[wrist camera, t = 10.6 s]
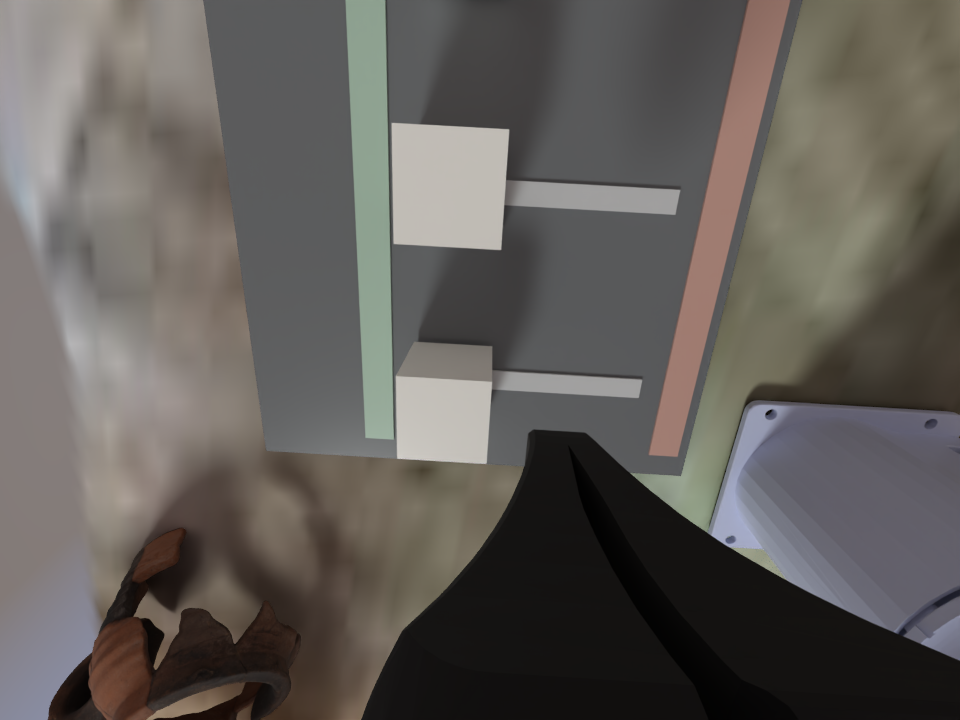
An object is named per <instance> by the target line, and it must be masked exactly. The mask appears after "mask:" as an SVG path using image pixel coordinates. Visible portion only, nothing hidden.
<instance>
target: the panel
mask: <svg viewBox="0 0 960 720" xmlns="http://www.w3.org/2000/svg"><path fill="white" fill-rule="evenodd" d="M203 1H204V8H205V15H206V22H207V29H208V37H209V44H210V51H211V58H212V65H213V72H214V80H215V87H216V94H217V101H218V108H219V116H220V123H221V130H222V137H223V144H224V151H225V159H226V166H227V173H228V180H229V187H230V194H231V202H232V209H233V216H234V223H235V230H236V238H237V245H238V252H239V259H240V266H241V273H242V281H243V288H244V295H245V302H246V309H247V316H248V324H249V331H250V338H251V345H252V352H253V359H254V367H255V374H256V381H257V388H258V395H259V403H260V410H261V417H262V424H263V431H264V438H265V446H266V451H280V452H296V453H313V454H329V455H346V456H362V457H379V458H395V459H397V420H396V375H397V373H398V371H399V369H400V367H401V365H402V363H403V362H404V360H405V358H406V356H407V354H408V352H409V350H410V348H411V346H412V345H413V343H414V342H429V343H446V344H463V345H480V346H492V391H491V406H490V421H489V435H488V450H487V464H494V465H511V466H525V458H526V448H527V438H528V433H529V432H531V431H532V430H533V429H536V430H553V431H569V432H585V433H587V434H588V435H589V436H590V437H591V438H593V439H594V440H595V441H596V442H597V443H598V444H599V445H600V446H601V447H602V448H603V449H604V450H605V451H606V452H608V453H609V454H610V455H611V456H612V457H613V458H614V459H615V460H616V461H617V462H618V463H619V464H620V465H621V466H623V467H624V468H625V469H626V470H627V471H628V472H629V473H643V474H659V475H676V476H681V474H682V470H683V466H684V462H685V458H686V454H687V450H688V446H689V442H690V438H691V434H692V430H693V427H694V423H695V419H696V415H697V411H698V407H699V403H700V399H701V395H702V391H703V387H704V383H705V380H706V376H707V372H708V368H709V364H710V360H711V356H712V352H713V348H714V344H715V340H716V336H717V333H718V329H719V325H720V321H721V317H722V313H723V309H724V305H725V301H726V297H727V293H728V289H729V286H730V282H731V278H732V274H733V270H734V266H735V262H736V258H737V254H738V250H739V246H740V242H741V238H742V235H743V231H744V227H745V223H746V219H747V215H748V211H749V207H750V203H751V199H752V195H753V191H754V188H755V184H756V180H757V176H758V172H759V168H760V164H761V160H762V156H763V152H764V148H765V144H766V141H767V137H768V133H769V129H770V125H771V121H772V117H773V113H774V109H775V105H776V101H777V97H778V94H779V90H780V86H781V82H782V78H783V74H784V70H785V66H786V62H787V58H788V54H789V50H790V47H791V43H792V39H793V35H794V31H795V27H796V23H797V19H798V15H799V11H800V7H801V3H802V0H203ZM392 123H403V124H421V125H439V126H458V127H476V128H494V129H509V141H508V156H507V170H506V185H505V200H504V215H503V229H502V244H501V250H490V249H473V248H455V247H438V246H420V245H403V244H394V242H393V182H392ZM412 460H413V459H412ZM428 461H429V460H428ZM445 462H446V461H445ZM461 463H462V462H461ZM478 464H479V463H478Z"/></svg>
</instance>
